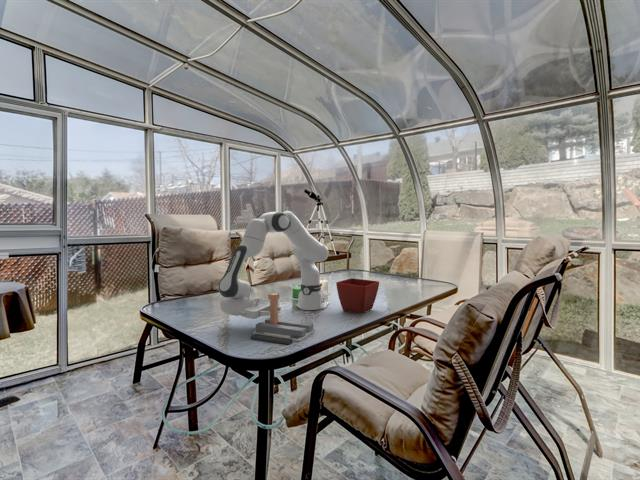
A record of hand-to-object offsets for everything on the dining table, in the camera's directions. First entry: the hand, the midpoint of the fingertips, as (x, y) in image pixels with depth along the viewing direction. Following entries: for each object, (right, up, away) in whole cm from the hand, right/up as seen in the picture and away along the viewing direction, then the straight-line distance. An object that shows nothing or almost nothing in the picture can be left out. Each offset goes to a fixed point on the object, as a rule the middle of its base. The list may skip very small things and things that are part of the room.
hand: (275, 311), depth 163 cm
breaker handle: (-1, -8, +1) cm, 8 cm away
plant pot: (+43, -8, +39) cm, 59 cm away
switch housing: (+5, -10, -1) cm, 11 cm away
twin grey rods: (0, -10, -12) cm, 16 cm away
